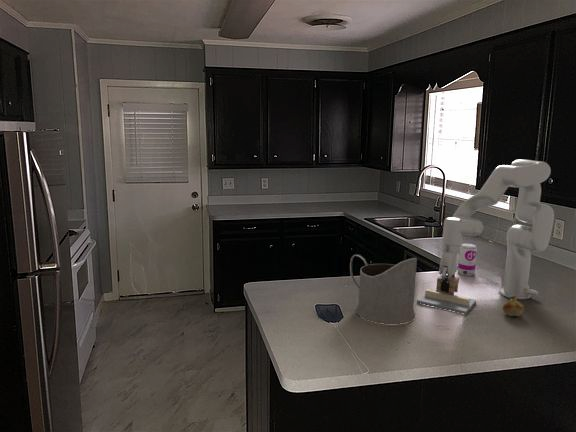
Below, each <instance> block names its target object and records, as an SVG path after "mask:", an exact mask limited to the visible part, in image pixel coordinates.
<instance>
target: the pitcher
mask: <svg viewBox="0 0 576 432" xmlns="http://www.w3.org/2000/svg"><path fill="white" fill-rule="evenodd" d="M355 257H358V258H360V260H362V261H363V262H364V266H362V267H361V268H360V271H359V284H358V283H357V281H356V278H355V277H354V274H353V260H354V258H355ZM417 261H418V259H417V258H416V257H412V258H408V259H405V260H402V261H400V262H398V263H397V264H391V263H371V264H368V262H367V261H366V259H365V258H364V257H363V256H362V255H361V254H353V255H352V256H351V258H350V263H349V273H350V277H351V279H352V282H353V283H354V285H355V286H356V287H357V289H358V304H357V306H356V308H355V311H356V312H357V314H358V315H359V316H360V317H362V318H364V319H366V320H369V321H373V322H377V323H384V324H400V323H406V322H409V321H412V320H413V319H414V318H415V319H416V317H415V315H416V313H415V309H414V302H415V301H414V299H415V292H416V291H415V288H416V277H417V276H416V275H417V263H418V262H417ZM356 312H355V313H356ZM357 314H356V315H357ZM358 315H357V316H358ZM359 316H358V317H359ZM360 317H359V318H360ZM366 320H365V321H366Z"/></svg>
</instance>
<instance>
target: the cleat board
mask: <svg viewBox="0 0 576 432" xmlns="http://www.w3.org/2000/svg"><path fill="white" fill-rule="evenodd" d="M417 303H421V304H425V305H429V306H434V307H437V308H436V309H438V308H441V309H440V310H442V309H446V310H451V311H455V312H459V313H464V314H466V313H467V312H468V311H469V310H472V308H474V306H475V305H476V304H477V299H474V298H468V297H465V296H459V295H455V294H454V295H448V294H444V293H439V292H436V290H433V289H425V291H424V293H423V294H422V295H421V296H420V297H418V299H416V304H417ZM475 303H476V304H475ZM421 304H420V305H421ZM474 304H475V305H474ZM425 305H424V306H425ZM473 305H474V306H473ZM429 306H428V307H429ZM434 307H433V308H434ZM446 310H445V311H446ZM455 312H454V313H455ZM469 312H470V311H469ZM469 312H468V313H469ZM459 313H458V314H459ZM468 313H467V314H468ZM467 314H466V315H467Z"/></svg>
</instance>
